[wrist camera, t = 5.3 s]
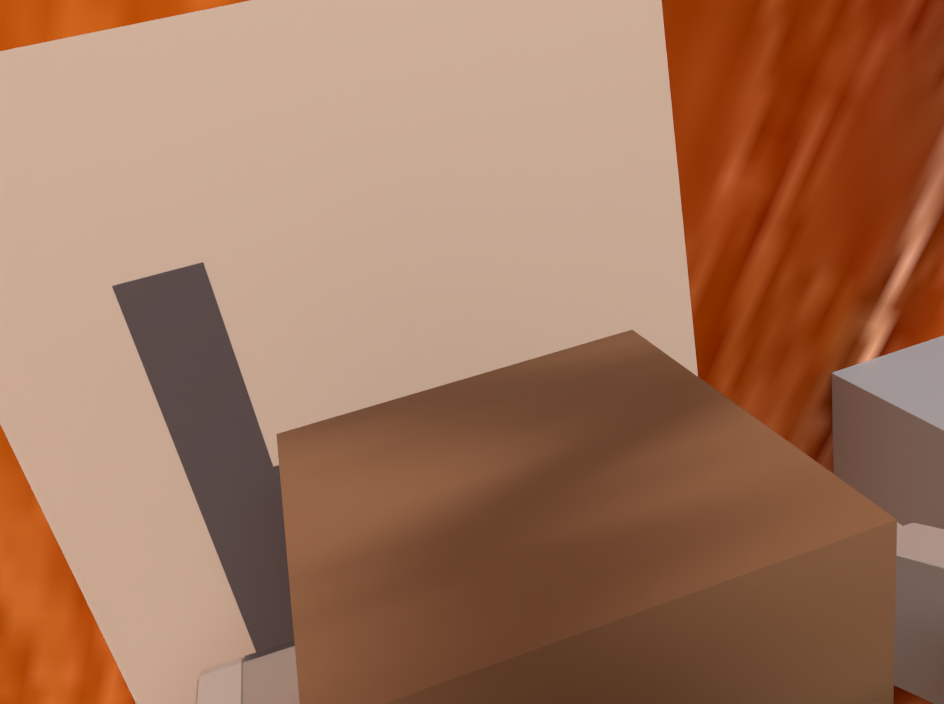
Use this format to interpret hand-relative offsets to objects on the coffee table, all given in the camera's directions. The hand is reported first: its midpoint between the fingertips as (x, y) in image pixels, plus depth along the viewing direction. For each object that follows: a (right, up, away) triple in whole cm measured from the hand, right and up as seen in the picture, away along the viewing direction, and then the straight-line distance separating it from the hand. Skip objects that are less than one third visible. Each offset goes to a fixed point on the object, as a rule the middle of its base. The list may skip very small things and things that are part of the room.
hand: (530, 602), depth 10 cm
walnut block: (0, +1, +1) cm, 2 cm away
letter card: (-2, +1, +5) cm, 6 cm away
